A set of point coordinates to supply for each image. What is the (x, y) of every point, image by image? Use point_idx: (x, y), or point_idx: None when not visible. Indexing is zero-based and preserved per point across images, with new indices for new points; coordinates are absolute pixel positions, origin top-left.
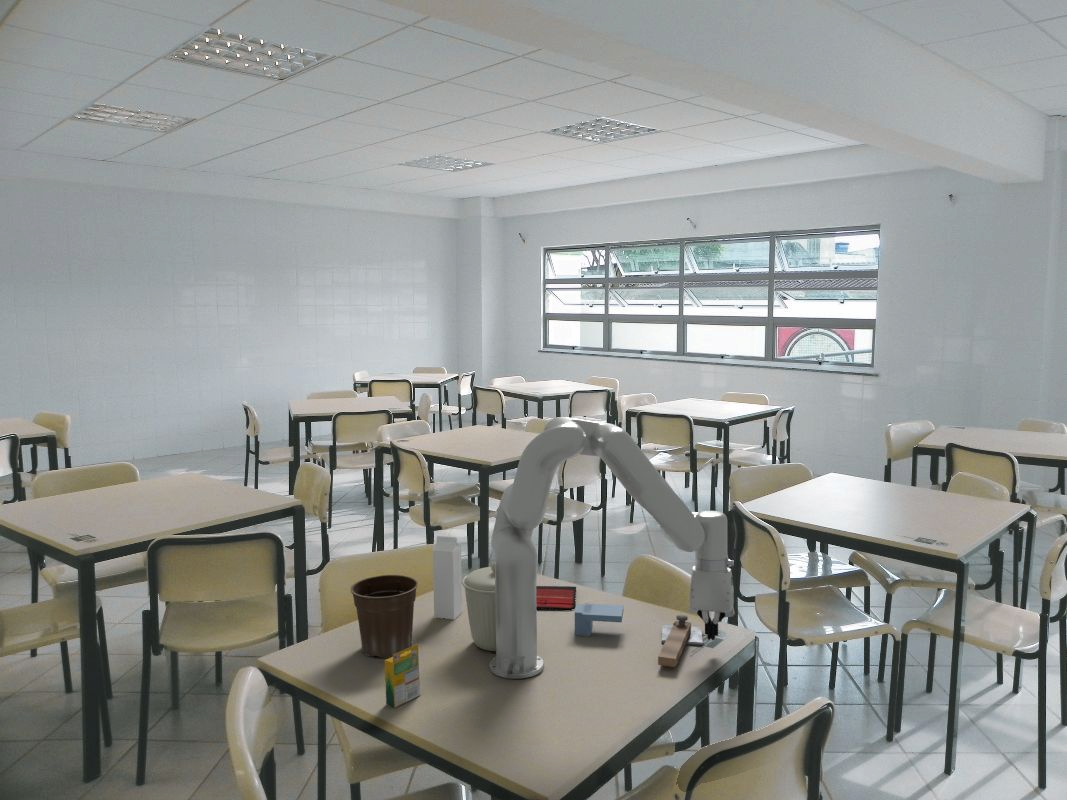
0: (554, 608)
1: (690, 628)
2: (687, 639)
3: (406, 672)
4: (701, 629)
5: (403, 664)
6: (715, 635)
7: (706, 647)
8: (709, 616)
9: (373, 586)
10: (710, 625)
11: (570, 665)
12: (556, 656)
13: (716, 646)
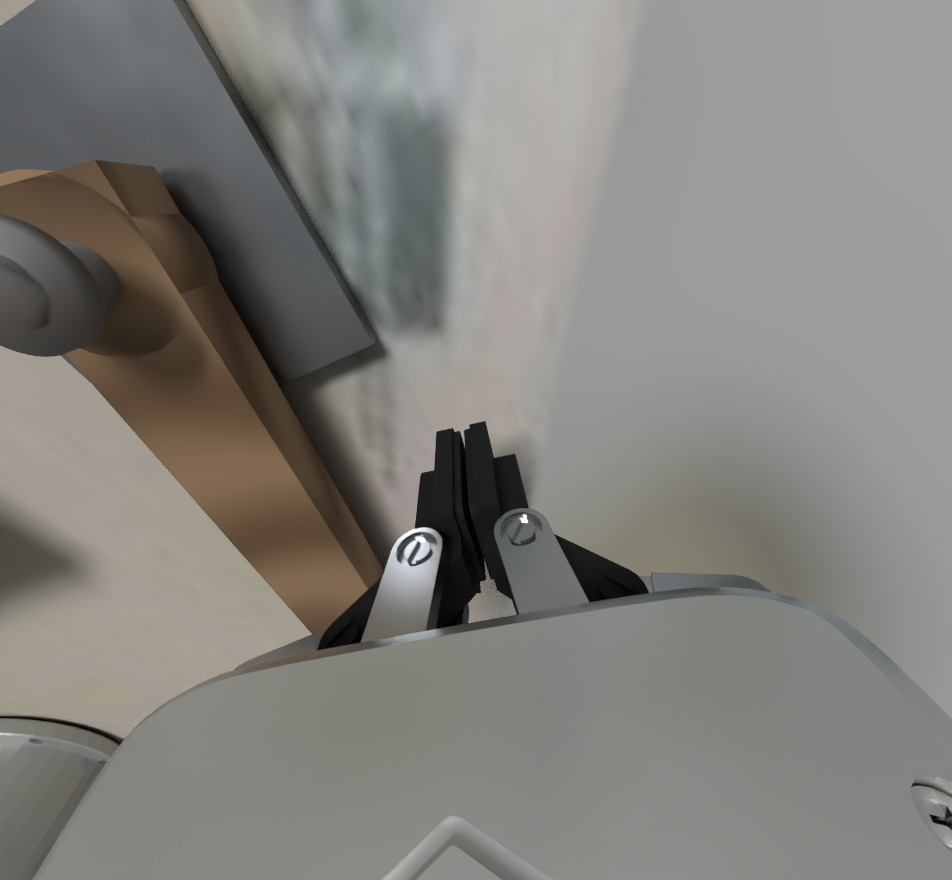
0: None
1: (186, 263)
2: (263, 349)
3: None
4: (189, 28)
5: None
6: (487, 431)
7: (408, 347)
8: (444, 560)
9: None
10: (483, 569)
11: (121, 696)
12: (19, 685)
13: (455, 298)
